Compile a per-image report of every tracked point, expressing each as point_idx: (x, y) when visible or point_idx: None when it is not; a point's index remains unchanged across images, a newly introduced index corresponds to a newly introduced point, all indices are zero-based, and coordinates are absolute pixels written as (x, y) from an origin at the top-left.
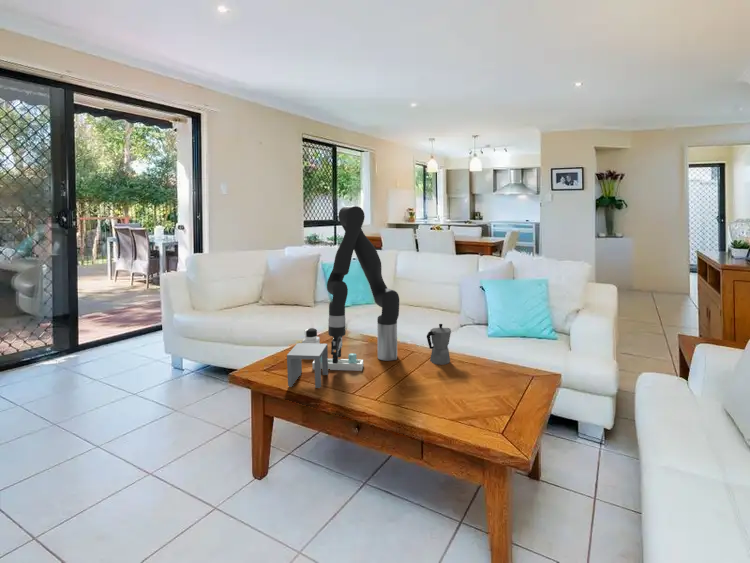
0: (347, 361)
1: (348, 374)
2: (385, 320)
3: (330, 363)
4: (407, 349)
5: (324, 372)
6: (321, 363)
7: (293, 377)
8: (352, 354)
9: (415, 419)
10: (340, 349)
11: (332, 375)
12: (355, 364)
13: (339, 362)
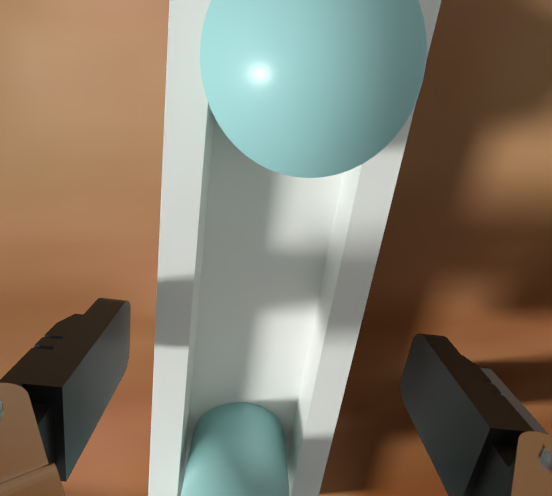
0: (204, 171)
1: (515, 143)
2: None
3: (340, 403)
4: None
5: None
6: (317, 489)
7: None
8: (297, 62)
9: None
10: (59, 395)
11: (496, 321)
12: (432, 19)
13: (199, 283)
